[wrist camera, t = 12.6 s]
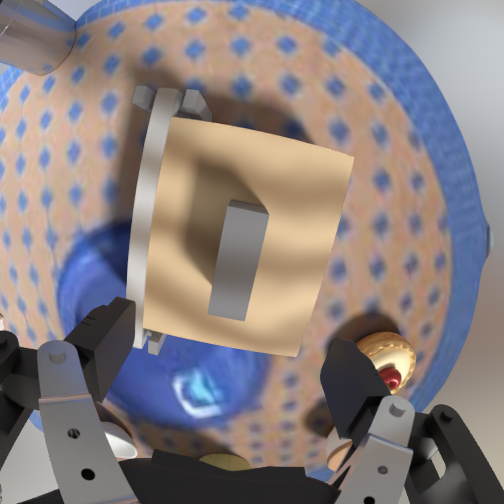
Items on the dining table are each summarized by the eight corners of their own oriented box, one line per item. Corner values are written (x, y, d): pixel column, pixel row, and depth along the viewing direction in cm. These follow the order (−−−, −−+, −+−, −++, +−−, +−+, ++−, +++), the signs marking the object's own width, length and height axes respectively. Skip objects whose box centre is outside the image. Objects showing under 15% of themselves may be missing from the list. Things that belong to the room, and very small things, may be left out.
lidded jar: (379, 425, 45) (394, 458, 36) (332, 449, 46) (342, 483, 37) (362, 401, 42) (379, 439, 33) (310, 428, 44) (319, 467, 35)
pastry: (414, 337, 39) (443, 366, 31) (373, 390, 42) (393, 424, 33) (366, 313, 37) (394, 347, 29) (320, 375, 40) (337, 415, 31)
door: (164, 92, 22) (139, 70, 15) (353, 132, 23) (385, 122, 17) (131, 335, 28) (109, 371, 22) (287, 366, 30) (296, 407, 23)
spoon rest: (149, 450, 46) (142, 475, 39) (104, 444, 46) (95, 466, 39) (102, 368, 40) (85, 395, 33) (54, 365, 40) (36, 387, 33)
